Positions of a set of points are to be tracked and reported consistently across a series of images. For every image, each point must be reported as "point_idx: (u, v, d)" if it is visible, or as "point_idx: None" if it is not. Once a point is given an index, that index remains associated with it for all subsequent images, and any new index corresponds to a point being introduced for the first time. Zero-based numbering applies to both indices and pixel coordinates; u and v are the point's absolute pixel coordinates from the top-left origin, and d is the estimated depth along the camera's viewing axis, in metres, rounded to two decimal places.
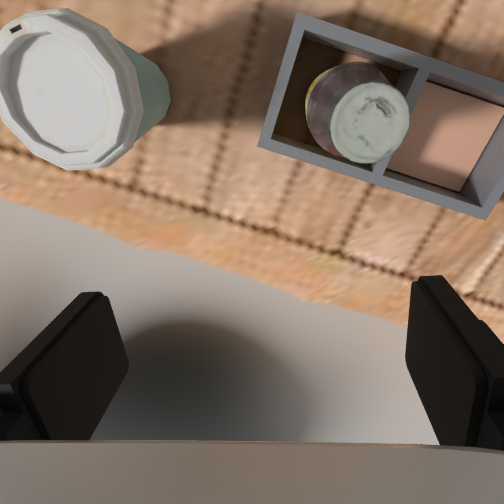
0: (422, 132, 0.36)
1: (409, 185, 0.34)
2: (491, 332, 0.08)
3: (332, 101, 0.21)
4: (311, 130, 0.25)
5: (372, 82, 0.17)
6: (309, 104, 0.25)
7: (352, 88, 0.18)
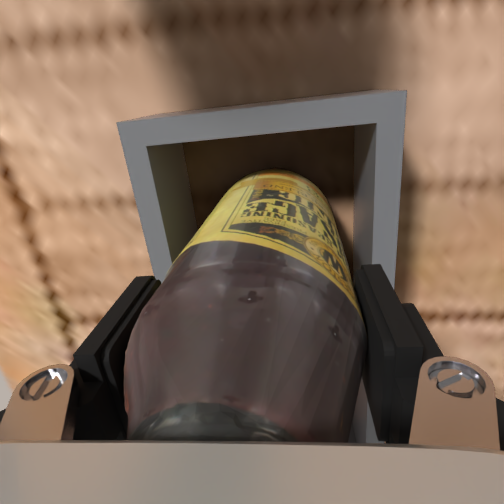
0: None
1: None
2: (417, 313, 0.09)
3: None
4: (144, 316, 0.08)
5: None
6: (220, 256, 0.09)
7: None
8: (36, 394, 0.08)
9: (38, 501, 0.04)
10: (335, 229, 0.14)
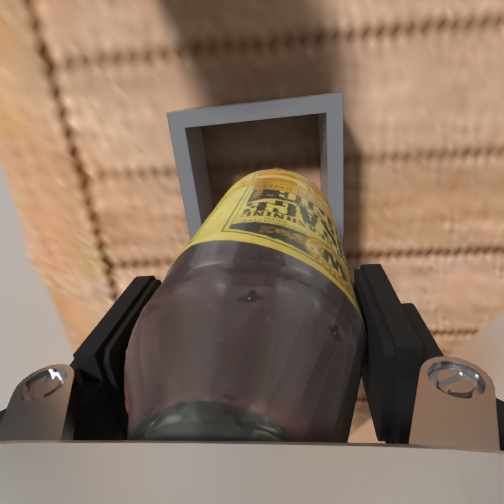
0: None
1: None
2: (417, 313, 0.09)
3: None
4: (144, 315, 0.08)
5: None
6: (220, 256, 0.09)
7: None
8: (36, 394, 0.08)
9: (38, 501, 0.04)
10: (335, 229, 0.14)
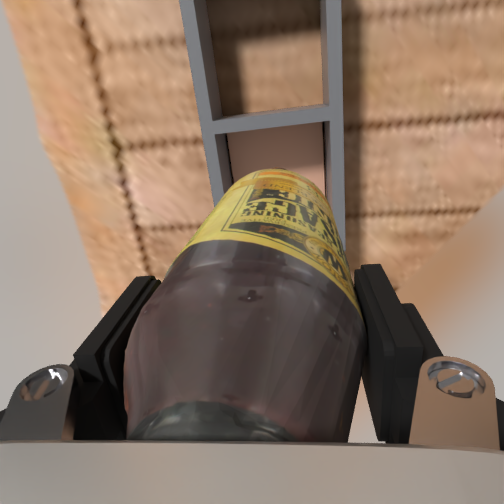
0: (276, 160, 0.33)
1: (218, 169, 0.30)
2: (417, 313, 0.09)
3: None
4: (143, 315, 0.08)
5: None
6: (219, 255, 0.09)
7: None
8: (36, 394, 0.08)
9: (38, 501, 0.04)
10: (335, 228, 0.14)
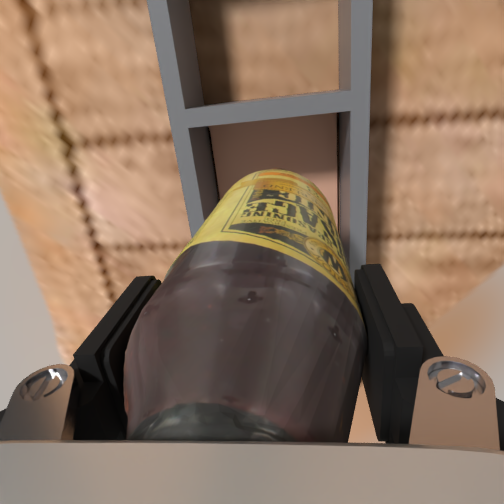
0: (275, 164, 0.25)
1: (194, 176, 0.21)
2: (417, 313, 0.09)
3: None
4: (143, 316, 0.08)
5: None
6: (219, 256, 0.09)
7: None
8: (36, 394, 0.08)
9: (38, 501, 0.04)
10: (335, 229, 0.14)
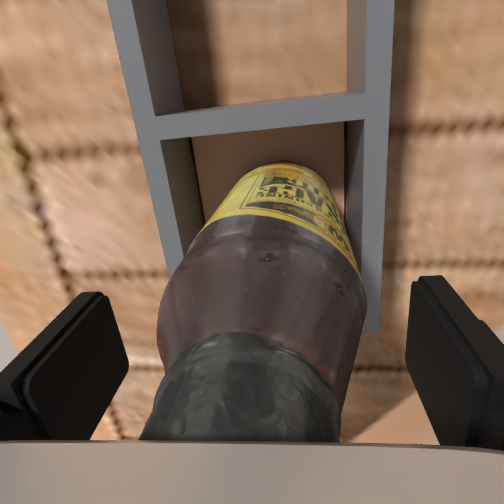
0: None
1: (169, 199, 0.17)
2: (491, 332, 0.08)
3: (252, 356, 0.06)
4: (177, 274, 0.09)
5: None
6: (240, 227, 0.10)
7: None
8: None
9: (38, 501, 0.04)
10: (338, 213, 0.15)
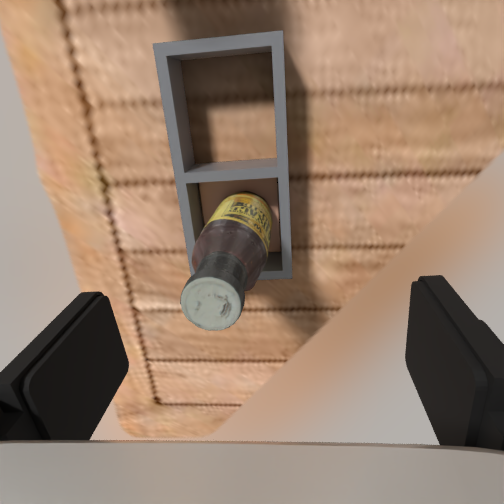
0: None
1: (188, 210, 0.36)
2: (491, 332, 0.08)
3: (223, 255, 0.25)
4: (200, 237, 0.28)
5: (238, 294, 0.22)
6: (221, 223, 0.29)
7: (228, 283, 0.22)
8: None
9: (38, 501, 0.04)
10: (266, 218, 0.34)
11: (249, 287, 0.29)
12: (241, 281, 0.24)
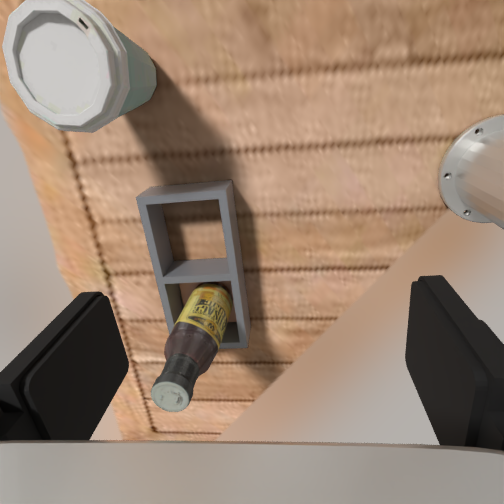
0: None
1: (167, 301, 0.49)
2: (491, 332, 0.08)
3: (181, 357, 0.38)
4: (169, 339, 0.41)
5: (186, 391, 0.35)
6: (184, 326, 0.41)
7: (180, 385, 0.35)
8: None
9: (38, 501, 0.04)
10: (222, 310, 0.47)
11: (204, 371, 0.41)
12: (191, 378, 0.37)
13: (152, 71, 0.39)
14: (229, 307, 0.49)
